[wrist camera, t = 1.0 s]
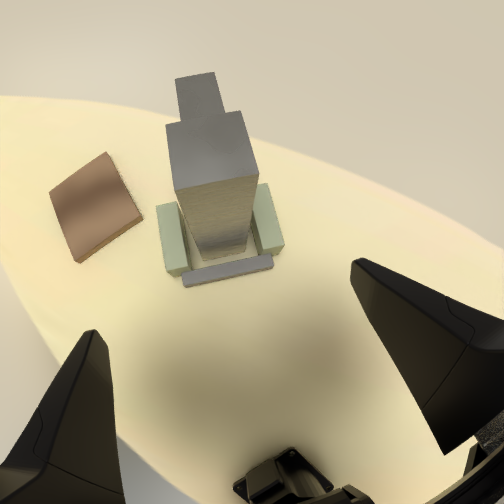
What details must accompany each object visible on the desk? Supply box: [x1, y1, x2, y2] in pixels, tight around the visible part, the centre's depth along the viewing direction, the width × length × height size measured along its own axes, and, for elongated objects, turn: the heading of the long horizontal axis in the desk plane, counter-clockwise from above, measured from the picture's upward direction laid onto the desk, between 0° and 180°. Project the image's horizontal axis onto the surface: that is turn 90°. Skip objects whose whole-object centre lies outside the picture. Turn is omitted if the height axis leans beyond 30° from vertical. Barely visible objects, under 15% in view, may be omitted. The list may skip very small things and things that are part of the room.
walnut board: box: [49, 152, 143, 263], centre depth 24 cm, size 8×7×1 cm
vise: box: [156, 183, 285, 288], centre depth 23 cm, size 6×9×3 cm
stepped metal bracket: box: [166, 72, 259, 261], centre depth 18 cm, size 6×3×13 cm, turn 13°
